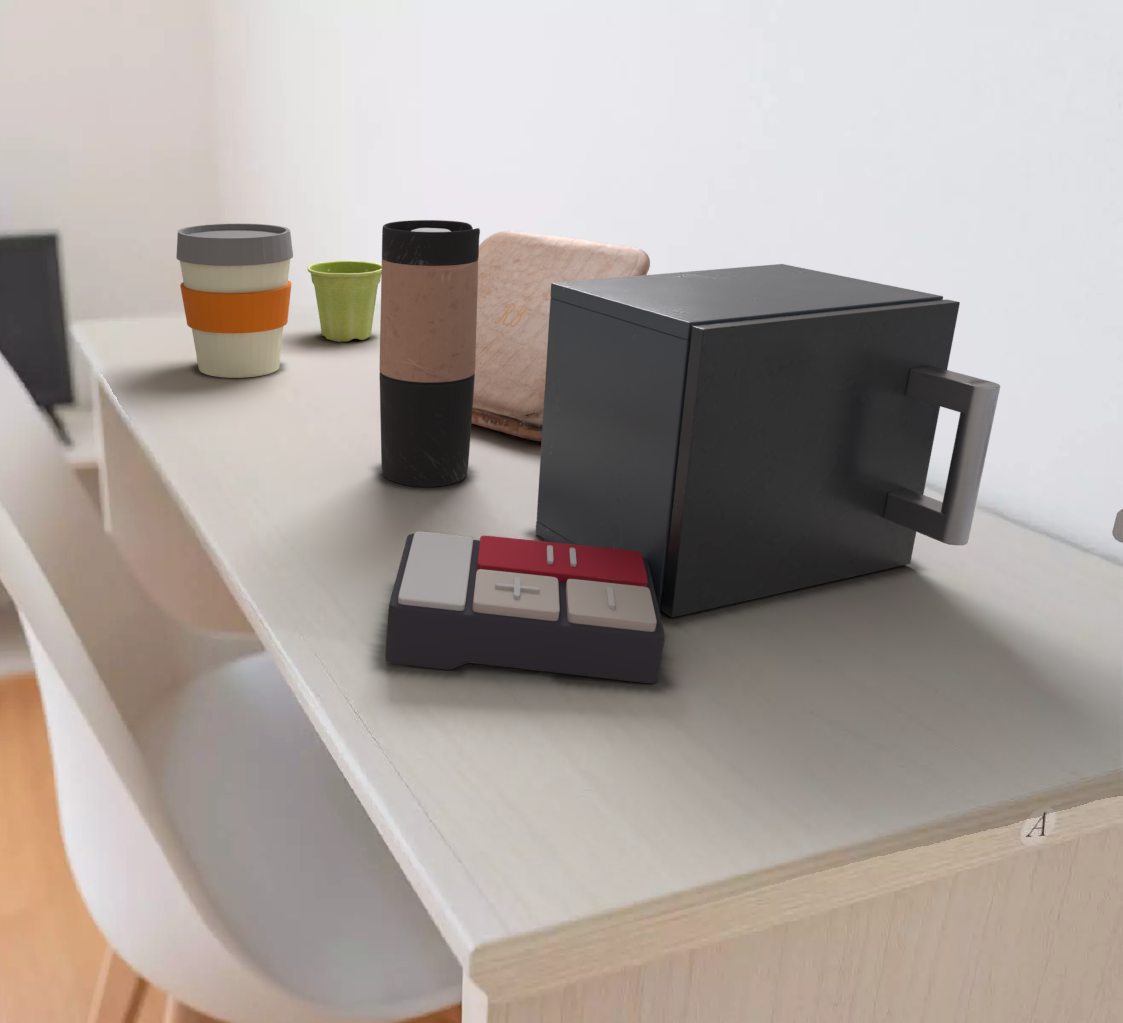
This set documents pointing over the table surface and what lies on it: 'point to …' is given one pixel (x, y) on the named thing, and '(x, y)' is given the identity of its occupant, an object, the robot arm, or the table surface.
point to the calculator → (524, 607)
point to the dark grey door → (818, 451)
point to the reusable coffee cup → (236, 295)
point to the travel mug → (427, 350)
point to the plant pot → (346, 297)
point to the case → (528, 318)
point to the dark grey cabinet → (648, 390)
